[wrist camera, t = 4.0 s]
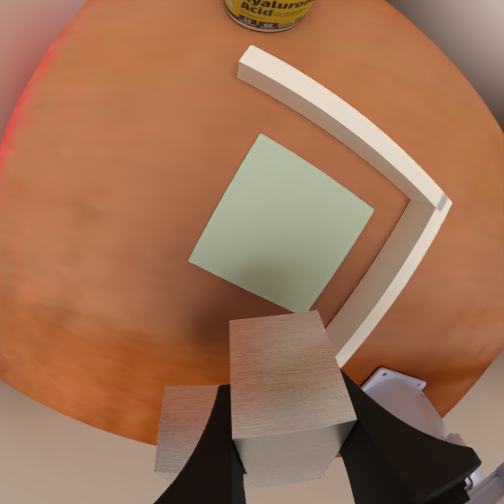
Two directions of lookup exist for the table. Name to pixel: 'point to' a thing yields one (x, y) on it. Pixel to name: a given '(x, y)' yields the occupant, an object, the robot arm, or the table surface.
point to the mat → (281, 228)
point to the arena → (382, 159)
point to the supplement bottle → (267, 13)
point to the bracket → (267, 403)
